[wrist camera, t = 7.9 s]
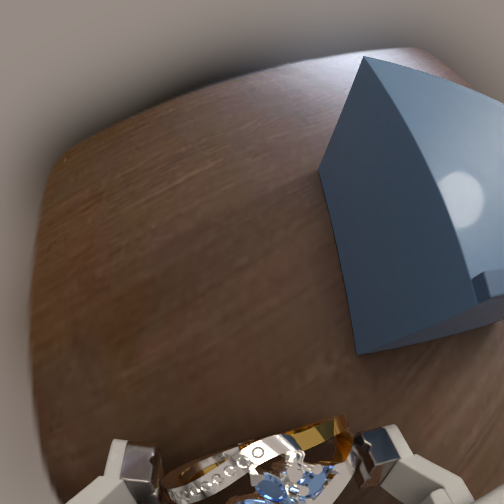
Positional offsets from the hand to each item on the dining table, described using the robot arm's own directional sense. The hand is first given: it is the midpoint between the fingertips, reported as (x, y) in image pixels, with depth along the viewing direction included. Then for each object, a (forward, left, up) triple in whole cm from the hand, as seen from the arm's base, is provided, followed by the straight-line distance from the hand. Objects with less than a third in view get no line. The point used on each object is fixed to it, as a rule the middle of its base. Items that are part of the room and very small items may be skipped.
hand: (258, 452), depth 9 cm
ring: (0, -1, -5) cm, 5 cm away
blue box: (+12, +9, -4) cm, 16 cm away
